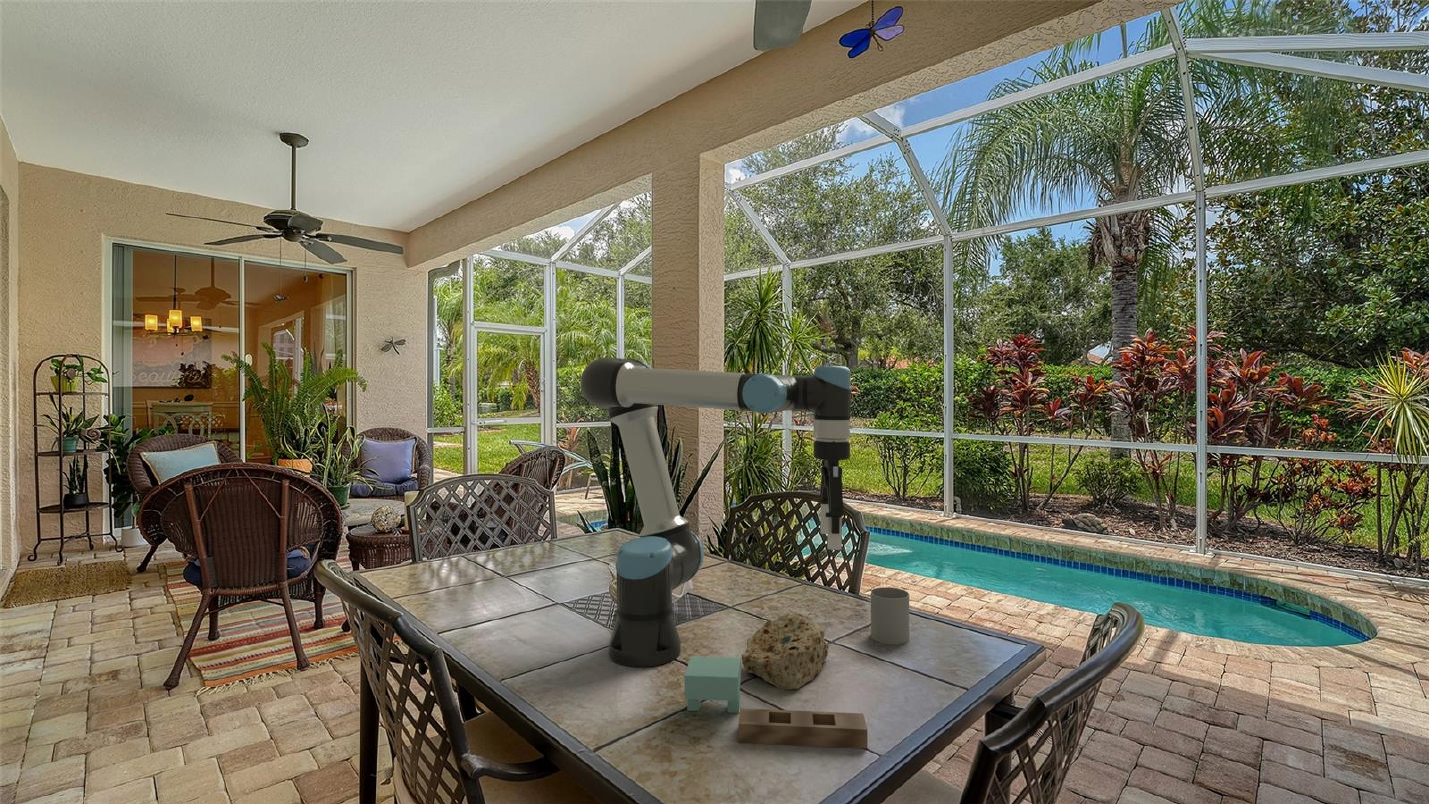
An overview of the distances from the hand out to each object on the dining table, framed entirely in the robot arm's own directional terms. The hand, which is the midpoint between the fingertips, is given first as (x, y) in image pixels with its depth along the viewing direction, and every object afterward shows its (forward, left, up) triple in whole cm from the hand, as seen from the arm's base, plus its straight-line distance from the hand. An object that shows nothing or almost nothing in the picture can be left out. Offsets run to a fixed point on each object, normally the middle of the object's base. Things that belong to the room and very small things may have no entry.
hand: (830, 541), depth 137 cm
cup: (+14, +10, -24) cm, 30 cm away
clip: (-22, -26, -24) cm, 41 cm away
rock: (-9, -7, -24) cm, 27 cm away
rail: (-7, -34, -24) cm, 42 cm away
